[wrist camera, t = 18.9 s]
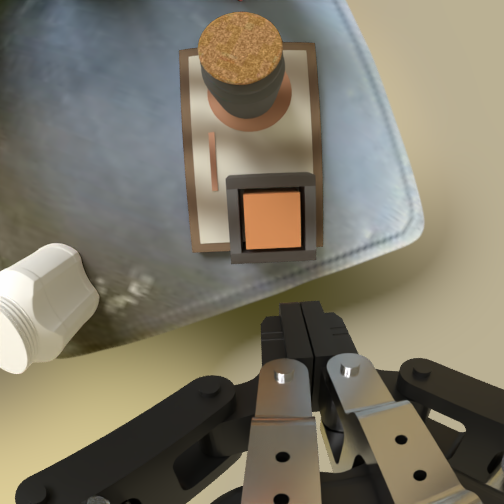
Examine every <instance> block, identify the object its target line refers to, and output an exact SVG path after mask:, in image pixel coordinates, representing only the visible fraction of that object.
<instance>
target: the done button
mask: <svg viewBox="0 0 504 504" xmlns="http://www.w3.org/2000/svg"><path fill="white" fill-rule="evenodd" d="M243 201H244V218H245V235H246V249H266V248H288V247H301V214H300V192H299V191H298V190H297V189H296V188H295V187H293V188H267V189H246V190H244V194H243Z"/></svg>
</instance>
